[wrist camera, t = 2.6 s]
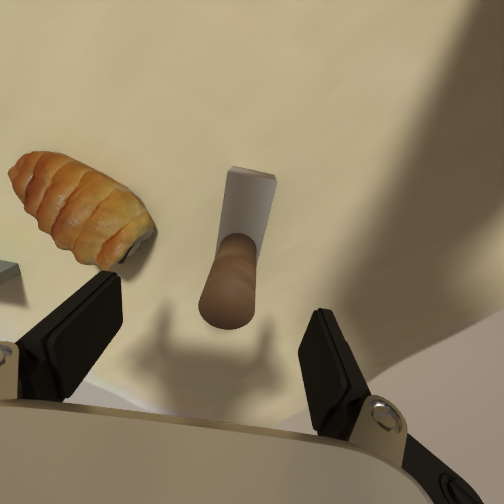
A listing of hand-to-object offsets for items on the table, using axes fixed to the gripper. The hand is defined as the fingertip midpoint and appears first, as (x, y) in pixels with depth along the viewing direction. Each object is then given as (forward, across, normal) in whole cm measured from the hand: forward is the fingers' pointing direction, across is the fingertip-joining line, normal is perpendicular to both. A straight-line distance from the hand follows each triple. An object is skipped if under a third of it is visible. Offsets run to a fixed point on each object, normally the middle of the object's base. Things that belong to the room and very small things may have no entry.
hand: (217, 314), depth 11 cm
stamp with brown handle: (+9, -1, -1) cm, 9 cm away
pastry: (+9, +11, 0) cm, 14 cm away
